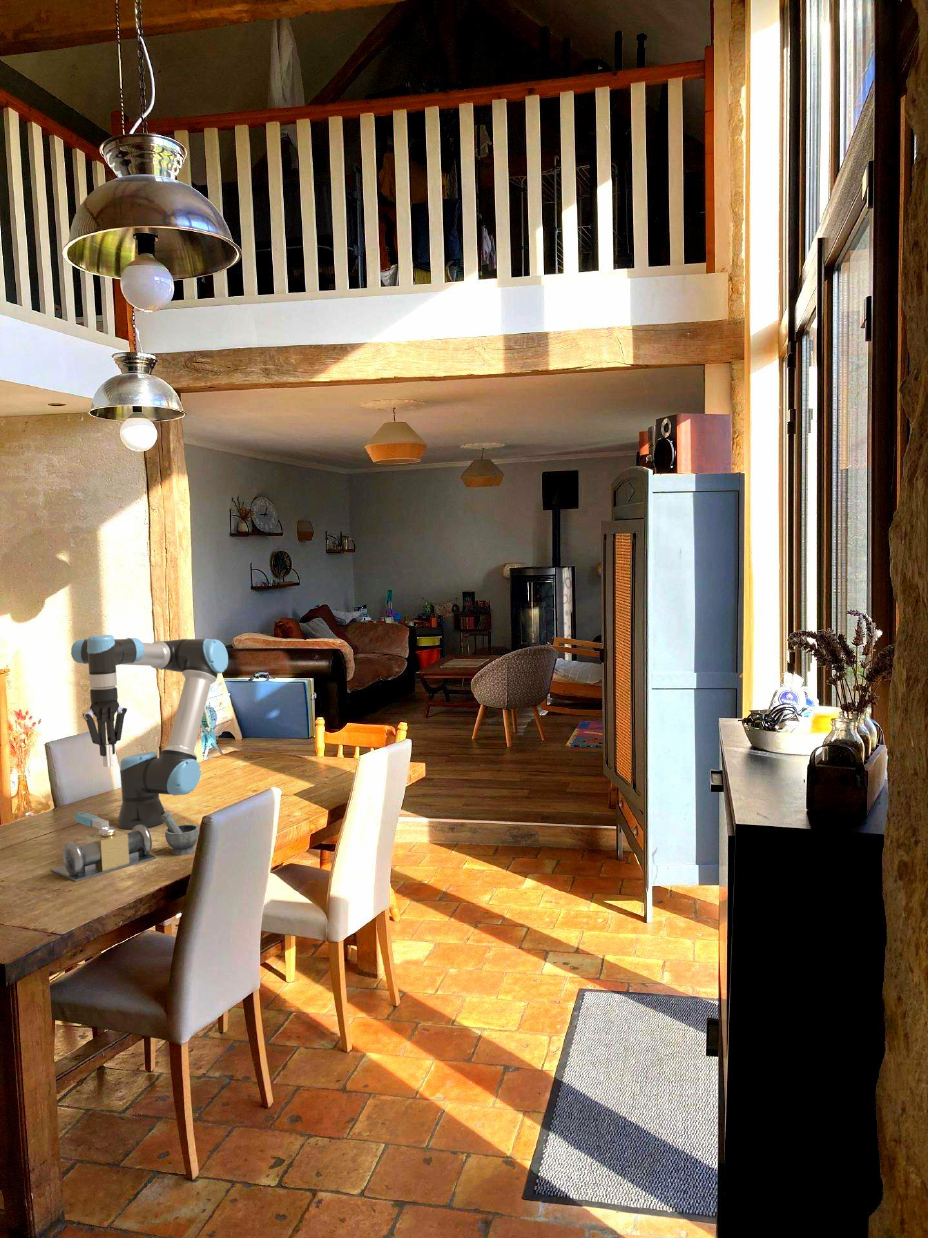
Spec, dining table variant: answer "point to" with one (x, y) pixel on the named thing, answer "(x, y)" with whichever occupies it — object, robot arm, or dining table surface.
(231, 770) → the dining table surface
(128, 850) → the valve body
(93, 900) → the dining table surface
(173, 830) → the mortar and pestle
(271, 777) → the dining table surface
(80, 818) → the lever
